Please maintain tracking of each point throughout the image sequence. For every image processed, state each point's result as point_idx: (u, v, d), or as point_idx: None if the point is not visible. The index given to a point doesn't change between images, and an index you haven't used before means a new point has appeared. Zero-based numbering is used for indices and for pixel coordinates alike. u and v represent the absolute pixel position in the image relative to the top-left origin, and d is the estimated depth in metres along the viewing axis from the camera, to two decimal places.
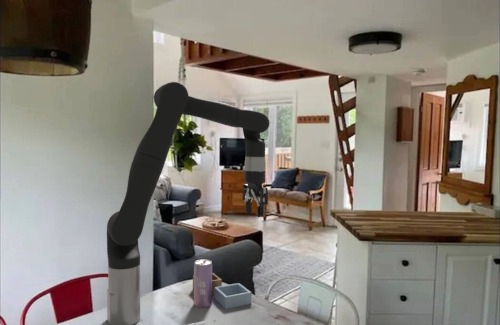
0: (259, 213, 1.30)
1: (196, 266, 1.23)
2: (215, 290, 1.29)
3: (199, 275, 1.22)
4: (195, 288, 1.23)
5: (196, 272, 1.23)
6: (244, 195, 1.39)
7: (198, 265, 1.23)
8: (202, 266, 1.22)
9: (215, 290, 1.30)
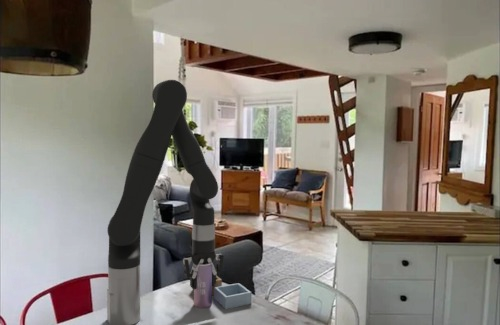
0: (214, 281, 1.26)
1: (196, 266, 1.23)
2: (215, 290, 1.29)
3: (199, 275, 1.22)
4: None
5: None
6: None
7: None
8: (202, 266, 1.22)
9: (215, 290, 1.30)
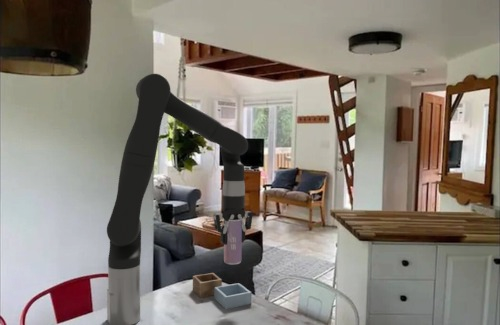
0: (244, 238, 1.29)
1: None
2: (215, 290, 1.29)
3: (230, 231, 1.25)
4: (226, 244, 1.25)
5: None
6: None
7: (229, 220, 1.25)
8: (233, 221, 1.24)
9: (215, 290, 1.30)
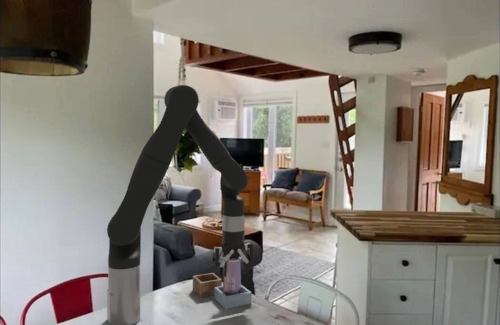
0: (246, 270, 1.30)
1: (226, 262, 1.26)
2: (215, 290, 1.29)
3: (229, 271, 1.25)
4: (225, 284, 1.26)
5: (226, 268, 1.25)
6: None
7: (228, 261, 1.25)
8: (232, 262, 1.25)
9: (215, 290, 1.30)
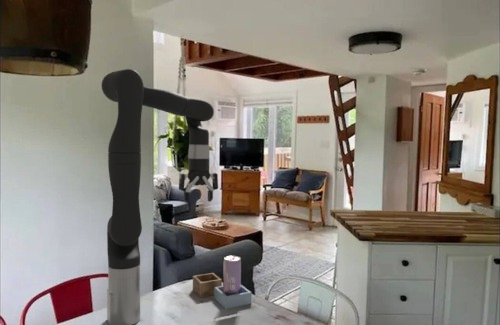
0: (211, 197, 1.39)
1: (226, 262, 1.26)
2: (215, 290, 1.29)
3: (229, 271, 1.25)
4: (225, 284, 1.26)
5: (226, 268, 1.26)
6: None
7: (228, 261, 1.25)
8: (232, 262, 1.25)
9: (215, 290, 1.30)
